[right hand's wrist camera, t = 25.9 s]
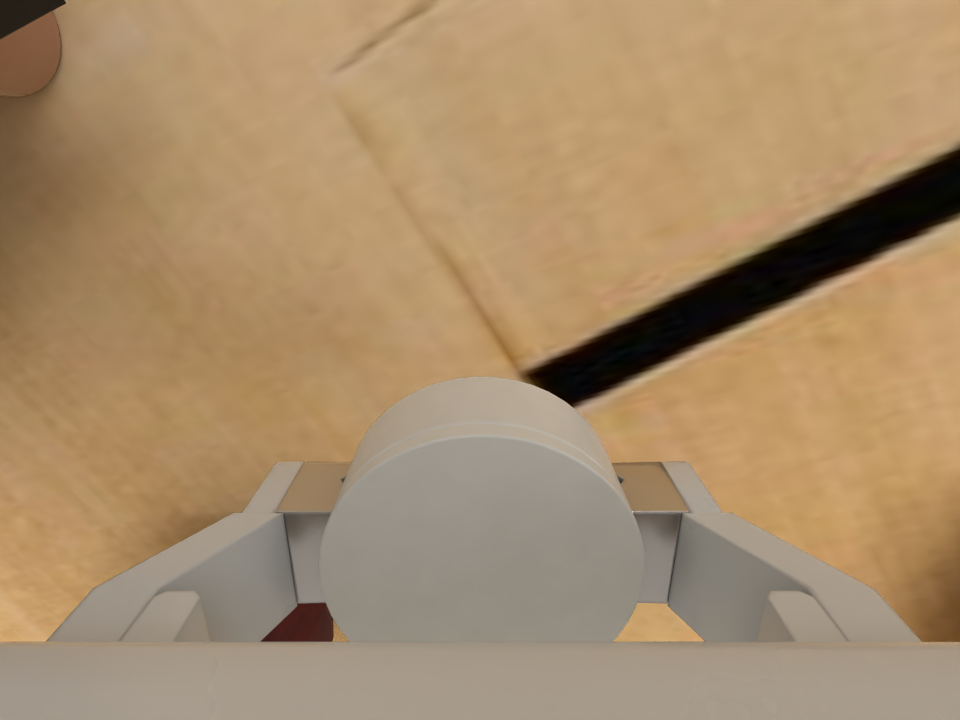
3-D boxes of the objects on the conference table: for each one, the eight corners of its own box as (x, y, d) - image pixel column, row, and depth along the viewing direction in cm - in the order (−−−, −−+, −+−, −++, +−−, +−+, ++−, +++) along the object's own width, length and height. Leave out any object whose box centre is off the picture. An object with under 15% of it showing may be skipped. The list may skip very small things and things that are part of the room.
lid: (621, 370, 9) (659, 429, 7) (605, 594, 11) (633, 692, 9) (334, 378, 9) (294, 440, 7) (364, 601, 11) (339, 699, 9)
